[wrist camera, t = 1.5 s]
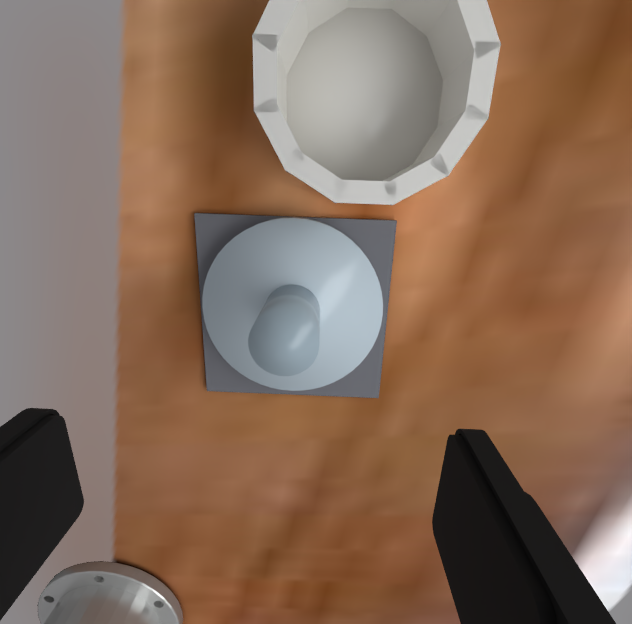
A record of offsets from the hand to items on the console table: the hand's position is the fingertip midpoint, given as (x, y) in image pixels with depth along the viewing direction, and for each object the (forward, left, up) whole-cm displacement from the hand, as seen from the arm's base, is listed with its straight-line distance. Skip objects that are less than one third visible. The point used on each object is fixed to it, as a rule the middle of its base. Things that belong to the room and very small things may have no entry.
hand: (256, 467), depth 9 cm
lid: (0, 0, -15) cm, 15 cm away
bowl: (+11, -3, -15) cm, 19 cm away
